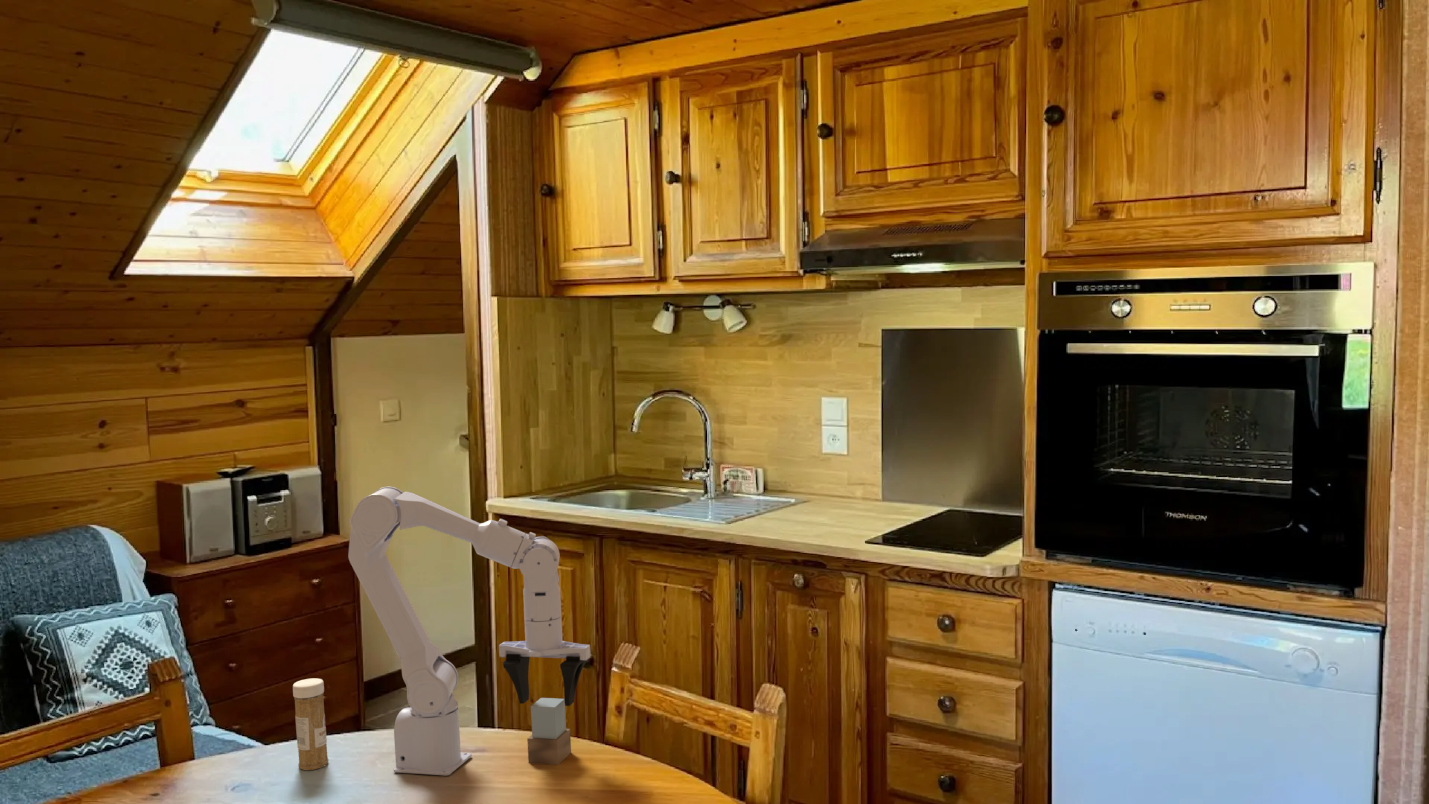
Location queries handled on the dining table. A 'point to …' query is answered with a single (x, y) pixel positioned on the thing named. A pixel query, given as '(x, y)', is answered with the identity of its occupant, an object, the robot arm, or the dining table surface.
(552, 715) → the slate block
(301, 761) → the sprinkles bottle
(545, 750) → the walnut block
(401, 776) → the dining table surface
